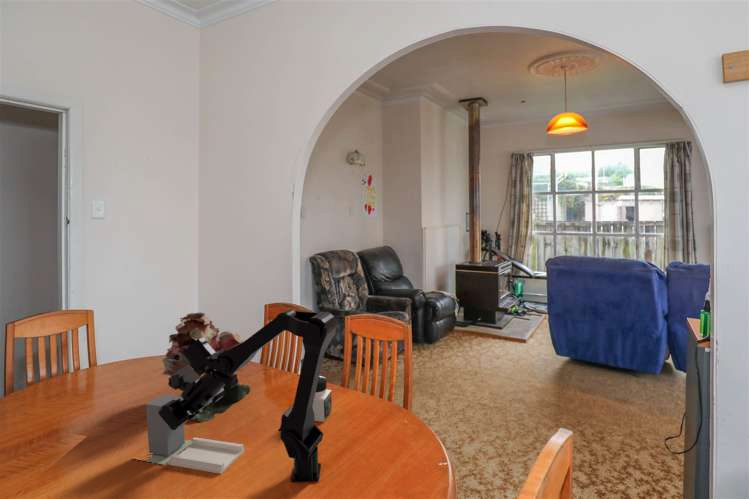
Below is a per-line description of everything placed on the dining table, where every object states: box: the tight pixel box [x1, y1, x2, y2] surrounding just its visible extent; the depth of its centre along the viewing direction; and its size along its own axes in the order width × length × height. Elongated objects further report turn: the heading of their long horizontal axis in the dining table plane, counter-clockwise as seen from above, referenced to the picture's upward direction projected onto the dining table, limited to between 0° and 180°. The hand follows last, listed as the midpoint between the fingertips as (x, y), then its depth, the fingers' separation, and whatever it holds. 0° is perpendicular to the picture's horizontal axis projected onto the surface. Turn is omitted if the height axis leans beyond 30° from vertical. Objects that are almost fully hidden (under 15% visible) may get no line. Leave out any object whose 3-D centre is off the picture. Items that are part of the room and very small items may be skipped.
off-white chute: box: [168, 436, 245, 475], centre depth 108 cm, size 15×10×2 cm, turn 74°
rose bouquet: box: [161, 311, 251, 423], centre depth 141 cm, size 26×29×30 cm
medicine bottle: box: [313, 375, 333, 423], centre depth 129 cm, size 7×7×12 cm
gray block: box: [145, 394, 186, 456], centre depth 111 cm, size 6×6×13 cm
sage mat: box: [135, 439, 192, 466], centre depth 112 cm, size 10×11×1 cm
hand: (176, 421), depth 110 cm, fingers closed, pressing on gray block
